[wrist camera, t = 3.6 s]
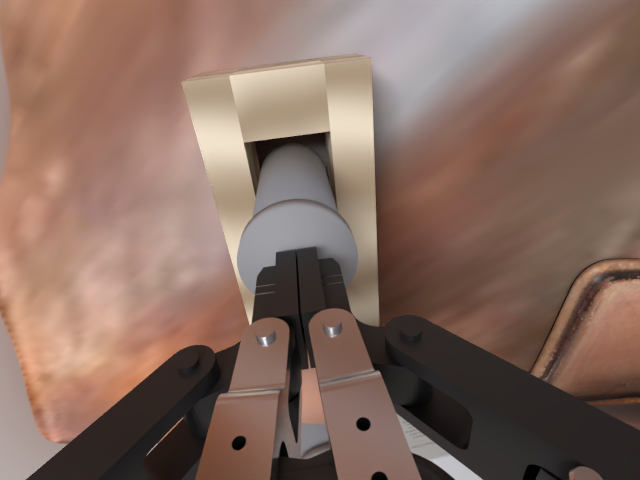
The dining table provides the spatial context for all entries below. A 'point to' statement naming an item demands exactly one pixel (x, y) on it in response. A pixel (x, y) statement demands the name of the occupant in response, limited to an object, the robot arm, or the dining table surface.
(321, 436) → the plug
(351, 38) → the dining table surface
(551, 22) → the dining table surface
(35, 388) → the dining table surface
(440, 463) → the small box
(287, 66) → the socket block
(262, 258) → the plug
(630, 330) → the case
